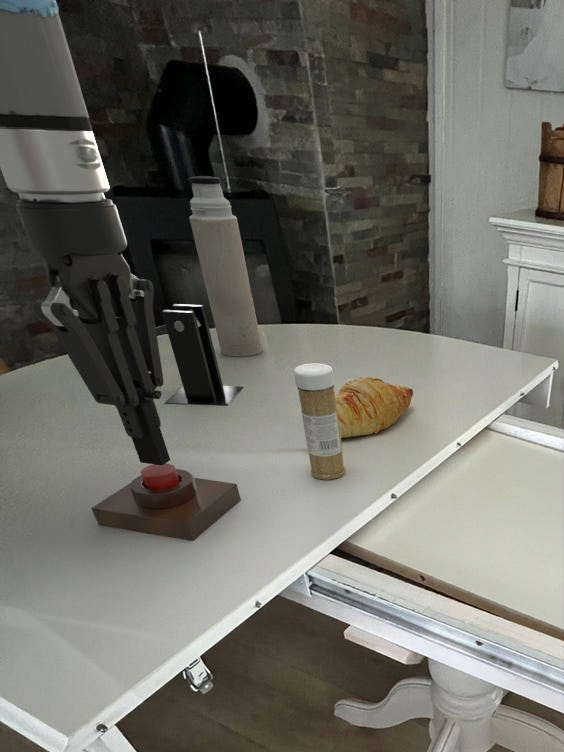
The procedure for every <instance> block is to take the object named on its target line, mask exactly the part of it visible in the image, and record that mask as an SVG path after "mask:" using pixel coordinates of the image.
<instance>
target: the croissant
mask: <svg viewBox="0 0 564 752" xmlns="http://www.w3.org/2000/svg"><path fill="white" fill-rule="evenodd" d="M334 396H335V402H336V409H337V416H338V424H339V427H340V435H341V439H343V438H351V437H360V436H366V435H373V434H377V433H379V432H380V431H383V430H385V429H387V428H389V427H390V426H391V425H393V424H395V423H396V422H397V421H398V420H399V417H401V416H402V414H403V413H404V412H405V411H406V410H407V409H408V408H409V407H410V406H411V402H412V397H413V396H414V390H413V388H410V387H408V386H401V385H393V384H391V383H388V382H385V381H384V380H382V379H380V378H377V377H376V378H373V377H359V378H357V379H353V380H349V381H348V382H346V383H345V384H344V385H343V386H342V387H341V388H340V389H339V392H338V394H334Z"/></svg>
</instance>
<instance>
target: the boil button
mask: <svg viewBox="0 0 564 752" xmlns="http://www.w3.org/2000/svg"><path fill="white" fill-rule="evenodd" d="M176 469H177V468H176V466H175V465H174V464H172V463H168V462H167V463H165V464H164V465H155V464H149V465H147V466H144V467H143V468H142V469H141V470H140V475H142V478H143V481H144V484H145V486H146V488H147V489H152V490H157V489H167V488H170V487H173V486H175V485H177V484H178V483H180V480H179V477H178V474H177V471H176Z"/></svg>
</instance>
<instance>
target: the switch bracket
mask: <svg viewBox="0 0 564 752" xmlns="http://www.w3.org/2000/svg"><path fill="white" fill-rule="evenodd" d="M172 309H173V310H171V309H163V310H162V311H161V314H162V319H163V322H164V325H166V329H167V332H168V333H167V335H168V339H169V343H170V345H171V350H172V353H173V356H174V359H175V363H176V366H177V370H178V373H179V374H178V375H179V377H180V381H181V384H182V387H180V388H179V390H177V391H176V392H175V393H174V394H172V395H171V396H170V398H168V399H167V400H166V401H165V402H163V404H164V405H187V406H188V405H191V406H224V407H228V406H229V405H230V404H231V403H232V402H233V401H234V400H235V399H236V397H237V396H238V395H239V394H240V393H241V392H242V391H243V390H244V389H245V386H237V385H235V386H234V385H223V380H222V376H221V373H220V368H219V364H218V360H217V356H216V351H215V347H214V343H213V339H212V334H211V331H210V327H209V323H208V319H207V315H206V310H205V307H204V305H203V304H183V303H182V304H181V303H179V304H177V303H174V304H173V305H172ZM190 309H193V311H187V310H190ZM194 313H195V314H196V316H197V318H198V320H199V322H200V324H201V326H200V327H198V325H197V321H196V318H195V314H194Z"/></svg>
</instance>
